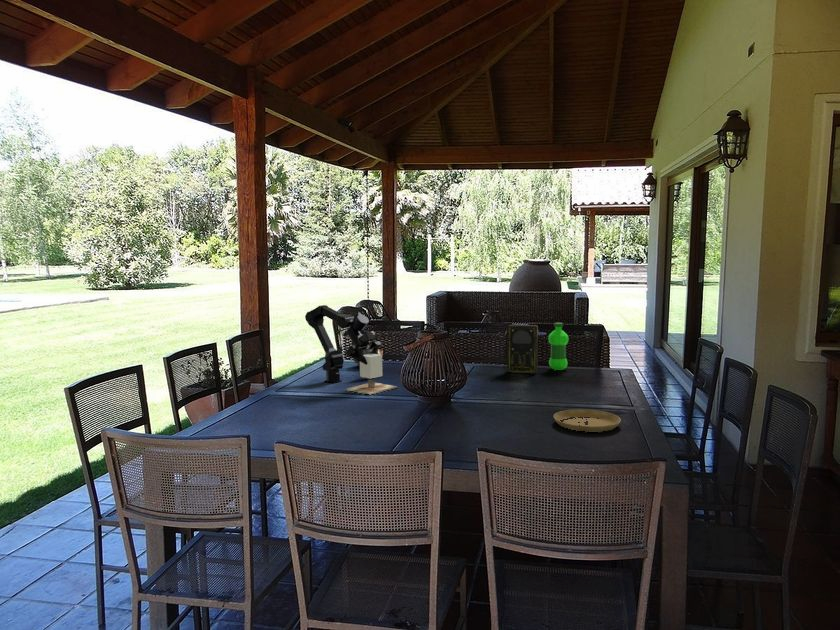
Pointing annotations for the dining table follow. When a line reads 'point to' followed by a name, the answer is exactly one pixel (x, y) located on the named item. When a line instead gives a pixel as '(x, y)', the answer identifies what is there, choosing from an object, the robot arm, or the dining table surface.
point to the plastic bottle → (558, 347)
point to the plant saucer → (594, 424)
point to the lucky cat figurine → (367, 353)
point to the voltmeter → (522, 348)
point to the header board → (371, 388)
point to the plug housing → (371, 366)
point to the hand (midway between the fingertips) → (372, 362)
